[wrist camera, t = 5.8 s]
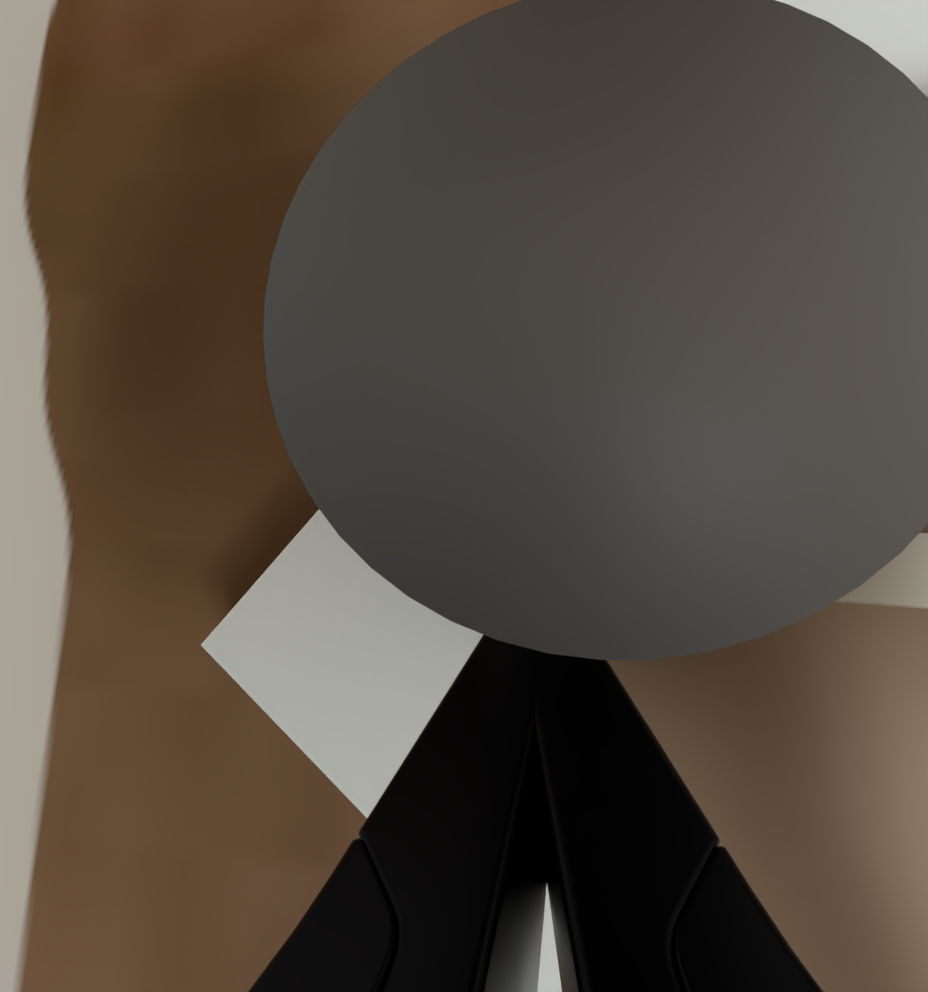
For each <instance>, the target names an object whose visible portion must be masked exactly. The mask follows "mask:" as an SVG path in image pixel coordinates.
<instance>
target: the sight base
mask: <svg viewBox="0 0 928 992" xmlns="http://www.w3.org/2000/svg"><path fill="white" fill-rule="evenodd" d="M776 1H779V2H783V3H786V4H788V5H791V6H793V7H795V8H798V9H800V10H802V11H804V12H807V13H809V14H811V15H814V16H816V17H818V18H821V19H823V20H825V21H828V22H829V23H831V24H833V25H834V26H836V27H838V28H840V29H841V30H843V31H845V32H846V33H848V34H850V35H851V36H853V37H855V38H857V39H858V40H860V41H862V42H863V43H865V44H867V45H868V46H869V47H871V48H872V49H873V50H875V51H876V52H877V53H878V54H880V55H881V56H882V57H884V58H885V59H886V60H887V61H889V62H890V63H891V64H893V65H894V66H895V67H896V68H898V69H899V70H900V71H902V72H903V73H904V74H905V75H906V76H907V77H908V78H909V79H910V80H911V81H912V82H913V83H914V84H915V85H916V86H917V87H918V88H919V89H920V90H921V91H922V92H923V93H924V94H925V95H926V96H927V97H928V0H776ZM482 636H483V634H481V633H479V632H476V631H474V630H471V629H469V628H466V627H464V626H461V625H459V624H456V623H454V622H452V621H450V620H448V619H446V618H444V617H443V616H441V615H439V614H437V613H436V612H434V611H432V610H430V609H429V608H427V607H425V606H424V605H422V604H420V603H418V602H417V601H415V600H413V599H411V598H410V597H408V596H407V595H405V594H404V593H403V592H402V591H400V590H399V589H398V588H396V587H395V586H394V585H392V584H391V583H390V582H389V581H387V580H386V579H385V578H383V577H382V576H381V575H379V574H378V573H377V572H376V571H374V570H373V569H372V568H371V567H370V566H369V565H368V564H367V563H366V562H365V561H364V560H363V559H362V558H361V557H360V556H359V555H358V554H357V553H356V552H355V551H354V550H353V549H352V548H351V547H350V546H349V545H348V544H347V543H346V542H345V541H344V540H343V539H342V538H341V537H340V536H339V535H338V534H337V532H336V531H335V530H334V528H333V527H332V525H331V524H330V523H329V521H328V520H327V519H326V517H325V516H324V515H323V513H322V512H321V511H320V509H319V510H318V511H317V512H316V513H315V514H314V515H313V517H312V518H311V519H310V520H309V521H308V522H307V523H306V525H305V526H304V527H303V528H302V529H301V530H300V532H299V533H298V534H297V535H296V536H295V537H294V538H293V540H292V541H291V542H290V543H289V544H288V545H287V546H286V548H285V549H284V550H283V551H282V552H281V553H280V555H279V556H278V557H277V558H276V559H275V560H274V561H273V563H272V564H271V565H270V566H269V567H268V568H267V569H266V571H265V572H264V573H263V574H262V575H261V576H260V577H259V579H258V580H257V581H256V582H255V583H254V584H253V586H252V587H251V588H250V589H249V590H248V591H247V592H246V594H245V595H244V596H243V597H242V598H241V599H240V600H239V602H238V603H237V604H236V605H235V606H234V607H233V609H232V610H231V611H230V612H229V613H228V614H227V615H226V617H225V618H224V619H223V620H222V621H221V622H220V623H219V625H218V626H217V627H216V628H215V629H214V630H213V631H212V633H211V634H210V635H209V636H208V637H207V638H206V640H205V641H204V642H203V643H202V644H201V646H202V647H203V648H204V649H205V650H206V651H207V652H208V653H209V654H210V655H211V656H212V657H213V658H214V659H215V660H216V662H217V663H218V664H219V665H220V666H221V667H222V668H223V669H224V670H225V671H226V672H227V673H228V674H229V675H230V676H231V677H232V678H233V679H234V680H235V681H236V682H237V683H238V684H239V685H240V686H241V688H242V689H243V690H244V691H245V692H246V693H247V694H248V695H249V696H250V697H251V698H252V699H253V700H254V701H255V702H256V703H257V704H258V705H259V706H260V707H261V708H262V709H263V710H264V711H265V713H266V714H267V715H268V716H269V717H270V718H271V719H272V720H273V721H274V722H275V723H276V724H277V725H278V726H279V727H280V728H281V729H282V730H283V731H284V732H285V733H286V734H287V735H288V736H289V738H290V739H291V740H292V741H293V742H294V743H295V744H296V745H297V746H298V747H299V748H300V749H301V750H302V751H303V752H304V753H305V754H306V755H307V756H308V757H309V758H310V759H311V760H312V761H313V763H314V764H315V765H316V766H317V767H318V768H319V769H320V770H321V771H322V772H323V773H324V774H325V775H326V776H327V777H328V778H329V779H330V780H331V781H332V782H333V783H334V784H335V785H336V786H337V787H338V789H339V790H340V791H341V792H342V793H343V794H344V795H345V796H346V797H347V798H348V799H349V800H350V801H351V802H352V803H353V804H354V805H355V806H356V807H357V808H358V809H359V810H360V811H361V812H362V814H363V815H364V816H365V817H366V818H368V816H369V815H370V813H371V812H372V810H373V808H374V807H375V805H376V804H377V802H378V801H379V799H380V797H381V796H382V794H383V793H384V791H385V789H386V788H387V786H388V785H389V783H390V782H391V780H392V778H393V777H394V775H395V774H396V772H397V770H398V769H399V767H400V766H401V764H402V763H403V761H404V759H405V758H406V756H407V755H408V753H409V751H410V750H411V748H412V747H413V745H414V744H415V742H416V740H417V739H418V737H419V736H420V734H421V732H422V731H423V729H424V728H425V726H426V725H427V723H428V721H429V720H430V718H431V717H432V715H433V713H434V712H435V710H436V709H437V707H438V706H439V704H440V702H441V701H442V699H443V698H444V696H445V694H446V693H447V691H448V690H449V688H450V687H451V685H452V683H453V682H454V680H455V679H456V677H457V675H458V674H459V672H460V671H461V669H462V668H463V666H464V664H465V663H466V661H467V660H468V658H469V656H470V655H471V653H472V652H473V650H474V649H475V647H476V645H477V644H478V642H479V641H480V639H481V637H482ZM537 992H562V988H561V980H560V973H559V966H558V959H557V952H556V944H555V937H554V930H553V923H552V916H551V908H550V901H549V894H548V887H546V898H545V910H544V921H543V932H542V944H541V955H540V966H539V978H538V989H537Z"/></svg>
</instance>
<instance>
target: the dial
mask: <svg viewBox="0 0 928 992" xmlns="http://www.w3.org/2000/svg"><path fill="white" fill-rule="evenodd" d="M263 347H264V358H265V369H266V380H267V385H268V389H269V393H270V398H271V402H272V407H273V411H274V415H275V420H276V423H277V425H278V428H279V431H280V433H281V436H282V439H283V441H284V444H285V447H286V449H287V452H288V454H289V457H290V460H291V462H292V464H293V466H294V467H295V469H296V471H297V473H298V475H299V476H300V478H301V480H302V482H303V484H304V486H305V487H306V489H307V491H308V493H309V495H310V497H311V498H312V500H313V501H314V503H315V504H316V505H317V507H318V508H319V509H320V511H321V512H322V513H323V515H324V516H325V517H326V519H327V520H328V521H329V523H330V524H331V525H332V527H333V528H334V530H335V531H336V532H337V534H338V535H339V536H340V537H341V538H342V539H343V540H344V541H345V542H346V543H347V544H348V545H349V546H350V547H351V548H352V549H353V550H354V551H355V552H356V553H357V554H358V555H359V556H360V557H361V558H362V559H363V560H364V561H365V562H366V563H367V564H368V565H369V566H370V567H371V568H372V569H373V570H374V571H376V572H377V573H378V574H379V575H381V576H382V577H383V578H385V579H386V580H387V581H389V582H390V583H391V584H392V585H394V586H395V587H396V588H398V589H399V590H400V591H402V592H403V593H404V594H405V595H407V596H408V597H410V598H411V599H413V600H415V601H417V602H418V603H420V604H422V605H424V606H425V607H427V608H429V609H430V610H432V611H434V612H436V613H437V614H439V615H441V616H443V617H444V618H446V619H448V620H450V621H452V622H454V623H456V624H459V625H461V626H464V627H466V628H469V629H471V630H474V631H476V632H479V633H481V634H483V635H486V636H488V637H491V638H493V639H496V640H498V641H502V642H506V643H510V644H514V645H518V646H522V647H525V648H529V649H533V650H537V651H541V652H545V653H549V654H557V655H565V656H574V657H582V658H590V659H598V660H607V661H608V662H609V664H610V665H611V667H612V669H613V670H614V672H615V673H616V675H617V677H618V678H619V680H620V681H621V683H622V684H623V686H624V688H625V689H626V691H627V692H628V694H629V696H630V697H631V699H632V700H633V702H634V704H635V705H636V707H637V708H638V710H639V711H640V713H641V715H642V716H643V718H644V719H645V721H646V723H647V724H648V726H649V727H650V729H651V730H652V732H653V734H654V735H655V737H656V738H657V740H658V742H659V743H660V745H661V746H662V748H663V749H664V751H665V753H666V754H667V756H668V757H669V759H670V761H671V762H672V764H673V765H674V767H675V769H676V770H677V772H678V773H679V775H680V776H681V778H682V780H683V781H684V783H685V784H686V786H687V788H688V789H689V791H690V792H691V794H692V795H693V797H694V799H695V800H696V802H697V803H698V805H699V807H700V808H701V810H702V811H703V813H704V815H705V816H706V818H707V819H708V821H709V822H710V824H711V826H712V827H713V829H714V830H715V832H716V834H717V835H718V837H719V839H720V845H719V846H723V847H725V848H726V849H727V850H728V852H729V853H730V855H731V857H732V858H733V860H734V861H735V863H736V864H737V866H738V868H739V869H740V871H741V872H742V874H743V876H744V877H745V879H746V880H747V882H748V883H749V885H750V887H751V888H752V890H753V891H754V893H755V894H756V896H757V897H758V899H759V900H760V902H761V903H762V905H763V906H764V908H765V909H766V911H767V912H768V914H769V915H770V917H771V918H772V919H773V921H774V922H775V924H776V925H777V927H778V928H779V930H780V931H781V933H782V934H783V936H784V937H785V939H786V940H787V942H788V943H789V945H790V946H791V948H792V949H793V951H794V952H795V954H796V955H797V956H798V958H799V959H800V960H801V962H802V963H803V964H804V966H805V967H806V968H807V970H808V971H809V972H810V974H811V975H812V976H813V978H814V979H815V980H816V982H817V983H818V984H819V986H820V987H821V988H822V990H823V991H824V992H928V97H927V96H926V95H925V94H924V93H923V92H922V91H921V90H920V89H919V88H918V87H917V86H916V85H915V84H914V83H913V82H912V81H911V80H910V79H909V78H908V77H907V76H906V75H905V74H904V73H903V72H902V71H900V70H899V69H898V68H896V67H895V66H894V65H893V64H891V63H890V62H889V61H887V60H886V59H885V58H884V57H882V56H881V55H880V54H878V53H877V52H876V51H875V50H873V49H872V48H871V47H869V46H868V45H867V44H865V43H863V42H862V41H860V40H858V39H857V38H855V37H853V36H851V35H850V34H848V33H846V32H845V31H843V30H841V29H840V28H838V27H836V26H834V25H833V24H831V23H829V22H828V21H825V20H823V19H821V18H818V17H816V16H814V15H811V14H809V13H807V12H804V11H802V10H800V9H798V8H795V7H793V6H791V5H788V4H786V3H783V2H779V1H776V0H522V1H519V2H516V3H514V4H511V5H508V6H506V7H503V8H501V9H498V10H495V11H493V12H490V13H488V14H485V15H482V16H480V17H478V18H476V19H474V20H472V21H471V22H469V23H467V24H465V25H463V26H461V27H459V28H457V29H455V30H453V31H451V32H449V33H447V34H445V35H443V36H442V37H440V38H439V39H437V40H436V41H434V42H433V43H431V44H429V45H428V46H426V47H425V48H423V49H422V50H420V51H419V52H417V53H416V54H414V55H413V56H411V57H410V58H408V59H407V60H406V61H404V62H403V63H402V64H401V65H400V66H398V67H397V68H396V69H395V70H393V71H392V72H391V73H390V74H389V75H387V76H386V77H385V78H384V79H382V80H381V81H380V82H379V83H378V84H376V85H375V86H374V87H373V88H372V89H371V90H370V91H369V92H368V94H367V95H366V96H365V97H364V98H363V99H362V100H361V101H360V102H359V103H358V104H357V105H356V106H355V107H354V108H353V109H352V110H351V111H350V112H349V113H348V114H347V115H346V116H345V118H344V119H343V120H342V122H341V123H340V124H339V125H338V127H337V128H336V129H335V131H334V132H333V133H332V134H331V136H330V137H329V138H328V140H327V141H326V142H325V143H324V145H323V146H322V147H321V149H320V151H319V152H318V154H317V156H316V157H315V159H314V161H313V162H312V164H311V166H310V167H309V169H308V170H307V172H306V174H305V175H304V177H303V179H302V180H301V182H300V184H299V186H298V189H297V191H296V193H295V195H294V198H293V200H292V202H291V204H290V206H289V209H288V211H287V213H286V215H285V217H284V220H283V223H282V226H281V229H280V233H279V236H278V239H277V242H276V246H275V249H274V252H273V255H272V259H271V264H270V270H269V276H268V281H267V287H266V293H265V300H264V322H263Z"/></svg>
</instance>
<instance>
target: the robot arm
mask: <svg viewBox="0 0 928 992" xmlns="http://www.w3.org/2000/svg"><path fill="white" fill-rule="evenodd" d="M359 836H360V839H359V838H356V839H354V840H353V841H352V843H351V844H350V846H349V847H348V849H347V851H346V852H345V854H344V855H343V857H342V859H341V860H340V862H339V863H338V865H337V866H336V868H335V870H334V871H333V873H332V874H331V876H330V878H329V879H328V880H327V882H326V883H325V885H324V886H323V888H322V889H321V891H320V892H319V894H318V895H317V897H316V898H315V900H314V901H313V903H312V904H311V906H310V907H309V909H308V910H307V912H306V913H305V915H304V916H303V918H302V919H301V921H300V922H299V924H298V925H297V927H296V928H295V930H294V931H293V932H292V934H291V935H290V936H289V938H288V939H287V940H286V942H285V943H284V944H283V946H282V947H281V948H280V950H279V951H278V952H277V954H276V955H275V956H274V958H273V959H272V960H271V962H270V963H269V964H268V966H267V967H266V968H265V970H264V971H263V972H262V974H261V975H260V977H259V978H258V979H257V981H256V982H255V983H254V985H253V986H252V987H251V989H250V990H249V991H248V992H537V989H538V978H539V966H540V955H541V944H542V932H543V921H544V910H545V898H546V887H548V894H549V901H550V908H551V916H552V923H553V930H554V937H555V944H556V952H557V959H558V966H559V973H560V980H561V988H562V992H824V991H823V990H822V988H821V987H820V986H819V984H818V983H817V982H816V980H815V979H814V978H813V976H812V975H811V974H810V972H809V971H808V970H807V968H806V967H805V966H804V964H803V963H802V962H801V960H800V959H799V958H798V956H797V955H796V954H795V952H794V951H793V949H792V948H791V946H790V945H789V943H788V942H787V940H786V939H785V937H784V936H783V934H782V933H781V931H780V930H779V928H778V927H777V925H776V924H775V922H774V921H773V919H772V918H771V917H770V915H769V914H768V912H767V911H766V909H765V908H764V906H763V905H762V903H761V902H760V900H759V899H758V897H757V896H756V894H755V893H754V891H753V890H752V888H751V887H750V885H749V883H748V882H747V880H746V879H745V877H744V876H743V874H742V872H741V871H740V869H739V868H738V866H737V864H736V863H735V861H734V860H733V858H732V857H731V855H730V853H729V852H728V850H727V849H726V848H725V847H723V846H719V845H720V839H719V837H718V835H717V834H716V832H715V830H714V829H713V827H712V826H711V824H710V822H709V821H708V819H707V818H706V816H705V815H704V813H703V811H702V810H701V808H700V807H699V805H698V803H697V802H696V800H695V799H694V797H693V795H692V794H691V792H690V791H689V789H688V788H687V786H686V784H685V783H684V781H683V780H682V778H681V776H680V775H679V773H678V772H677V770H676V769H675V767H674V765H673V764H672V762H671V761H670V759H669V757H668V756H667V754H666V753H665V751H664V749H663V748H662V746H661V745H660V743H659V742H658V740H657V738H656V737H655V735H654V734H653V732H652V730H651V729H650V727H649V726H648V724H647V723H646V721H645V719H644V718H643V716H642V715H641V713H640V711H639V710H638V708H637V707H636V705H635V704H634V702H633V700H632V699H631V697H630V696H629V694H628V692H627V691H626V689H625V688H624V686H623V684H622V683H621V681H620V680H619V678H618V677H617V675H616V673H615V672H614V670H613V669H612V667H611V665H610V664H609V662H608V661H607V660H598V659H590V658H582V657H574V656H565V655H557V654H549V653H545V652H541V651H537V650H533V649H529V648H525V647H522V646H518V645H514V644H510V643H506V642H502V641H498V640H496V639H493V638H491V637H488V636H486V635H483V636H482V637H481V639H480V641H479V642H478V644H477V645H476V647H475V649H474V650H473V652H472V653H471V655H470V656H469V658H468V660H467V661H466V663H465V664H464V666H463V668H462V669H461V671H460V672H459V674H458V675H457V677H456V679H455V680H454V682H453V683H452V685H451V687H450V688H449V690H448V691H447V693H446V694H445V696H444V698H443V699H442V701H441V702H440V704H439V706H438V707H437V709H436V710H435V712H434V713H433V715H432V717H431V718H430V720H429V721H428V723H427V725H426V726H425V728H424V729H423V731H422V732H421V734H420V736H419V737H418V739H417V740H416V742H415V744H414V745H413V747H412V748H411V750H410V751H409V753H408V755H407V756H406V758H405V759H404V761H403V763H402V764H401V766H400V767H399V769H398V770H397V772H396V774H395V775H394V777H393V778H392V780H391V782H390V783H389V785H388V786H387V788H386V789H385V791H384V793H383V794H382V796H381V797H380V799H379V801H378V802H377V804H376V805H375V807H374V808H373V810H372V812H371V813H370V815H369V816H368V818H367V820H366V821H365V823H364V824H363V826H362V827H361V829H360V831H359Z"/></svg>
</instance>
